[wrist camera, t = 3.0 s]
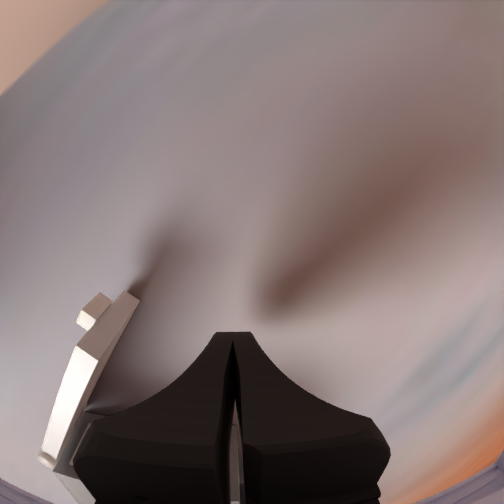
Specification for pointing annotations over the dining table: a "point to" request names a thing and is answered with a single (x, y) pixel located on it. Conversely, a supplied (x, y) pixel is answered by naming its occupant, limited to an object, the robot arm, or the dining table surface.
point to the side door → (85, 368)
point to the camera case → (84, 497)
